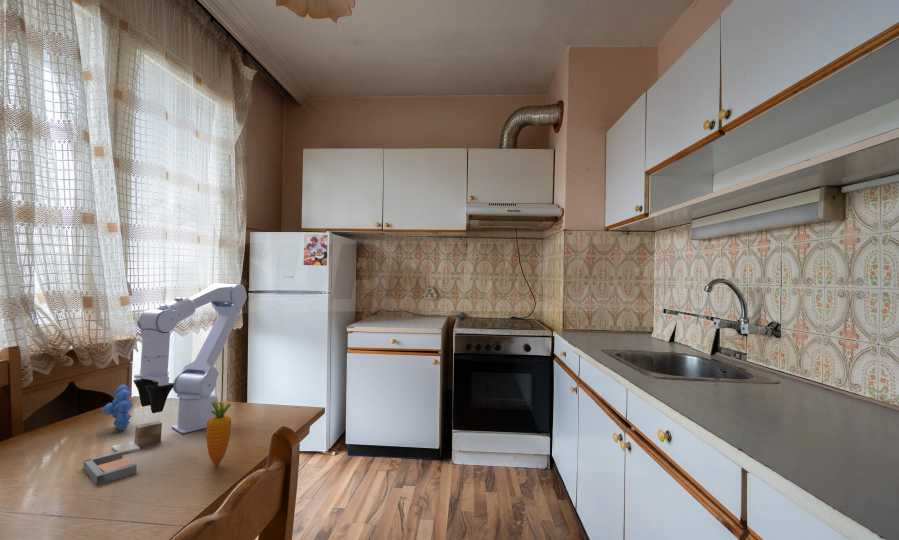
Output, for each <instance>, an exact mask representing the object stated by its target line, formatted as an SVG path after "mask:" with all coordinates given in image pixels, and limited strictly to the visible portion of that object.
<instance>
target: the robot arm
mask: <svg viewBox="0 0 899 540" xmlns="http://www.w3.org/2000/svg"><path fill="white" fill-rule="evenodd" d="M247 298H248V295H247V289H246V287H245V286H244V285H243V284H241V283H237V284H235V283H232V284H230V283H218V282H215V283H212V284H210V285H207V286H206V288H205V289H203V290H201V291H200V292H198V293H195V294H194V295H193V296H190V297H184V296H182V297H181V296H177V297H175V298H174V300H172V301H170V302H169V303H166V304H161V305H159V307H158V308H156V309H147V310H144V311H143V313H142V314H141V315H140V316H139V318H138V320H137V321H136V325H137V328H138V329H139V330H140V337H141V338H142V339H141V341H142V342H141V356H140V369H139V373H138V374H134V375H133V378H135V379H133V381H132V382H133V383H134V385H135V387H136V389H137V392H138V396H139V403H140V405H141V407H142V408H143V407H144V408H145V407H148V406H150V411H151V413H152V414H156V413H161V412H163V410H164V407H165V405H166V402H167V399H168V397H169V394H170V392H171V391H172V389H173V391H174V393H175V394H177V395H176V397H177V398H178V409H177V410H178V413H177V423H175V424H173V425H171V428H173V429H174V430H176V431H177V432H178V433H180V434H186V433H187V434H188V433H191V432H195V431H200V430H202V429H207V421H208V420H209V419H210V418H212V417H214V416H216V415H214V414H213V413H212V412H210V411H211V410H214V411H215V409H214V407H213V405H212V404H211V403H212V402H213V401H216V402H217V404H218V405H219V398H218V396H217V394H216V393H215V392H214V391H215V389H216V387H217V381H218V380H217V379H218V377H219V376H220V375H219V374H220V373H219V371H218V369H217V368H216V367H215V365H216V363H217V361H218V360H219V358H220V355H221V352H222V351H223V349H224V347H225V345H226V343H227V341H228V339H229V337H230V335H231V333H232V330H233V329H234V327H235V324H236V322H237V320H238V318H239V316H240V314H241V313H240V312H242V311H241V310H242V309H243V307H244V305H245V303H246V300H248V299H247ZM209 303H210V304H211V305H212V307H213V309H214V311H215V312H216V313H217V314H218V316H217V318H216V320H215V321H214V323H213V325H212V327H211V329H210V331H209V333H208V335H207V336H206V338H205V340H204V342H203V344H202V346H201V348H200V350H199V352H198V354H197V355H196V358H195V360H194V361H192V362H190V363H188V364H186V365H184V366H183V369H181V371H180V372H179V373H178V374H177V375H176V376H175V378H174V380H173V382H170V377H169V374H170V373H169V372H170V371H169V359H170V342H171V341H170V340H171V332H172V331H173V330H174V329H175V328H176V327H177V324H178V323H180V322H183V320H186V319H188V318H189V317H191V316H193V315H195V313H196V310H197V309H198V308H200V307H203V306H206V305H207V304H209ZM215 412H216V411H215Z"/></svg>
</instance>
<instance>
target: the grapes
mask: <svg viewBox="0 0 899 540" xmlns="http://www.w3.org/2000/svg"><path fill="white" fill-rule="evenodd" d="M130 391H131V388H130V387H129V386H128V385H125V384H120V385H119V386H118V387H117V388H116V390H114V393H113V395H114V396H115V397H114V398H113V400H112V402H108V403H107V404H106V405H105V406H104V407H103V408H102V409H101V411H102V412H103V413H104V414H106V415H107V416H112V418H113V419H115V420H114V422H113V423H112V425H114V427H115V428H117V430H120V431H122V430H123V431H124V430H125V429H127V427H128V426H129V425H130V423H131V422H130V421H129V420H130V419H131V417H132V415H131V414H130V413H129V411H130V410H131V409H132V407H133V406H134V405H133V403H131V402H130V400H129V398H130V397H131V396H132V393H131V392H130Z"/></svg>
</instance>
